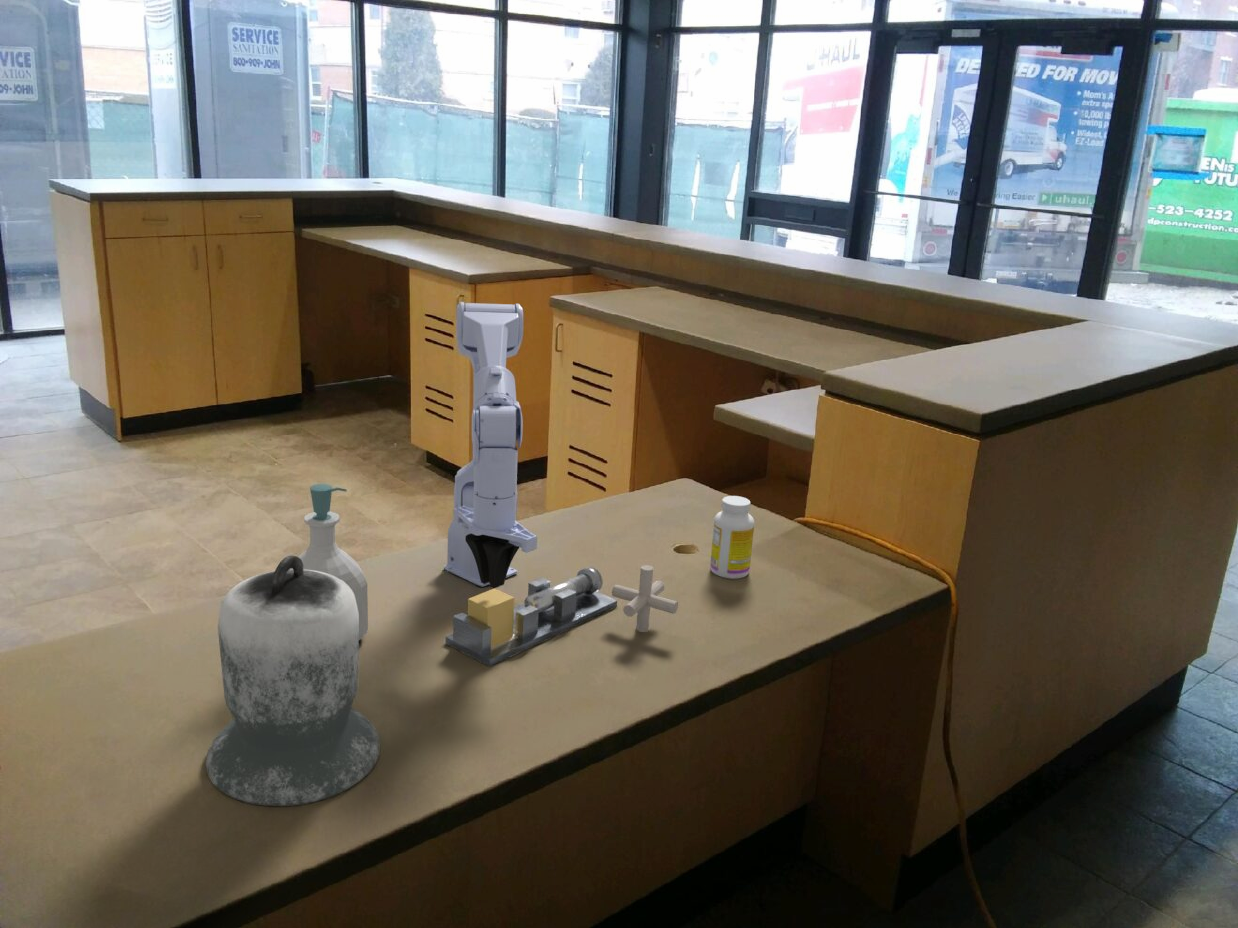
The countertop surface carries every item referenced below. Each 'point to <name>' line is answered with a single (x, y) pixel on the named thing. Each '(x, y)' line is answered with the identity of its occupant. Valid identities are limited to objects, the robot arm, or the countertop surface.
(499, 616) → the block
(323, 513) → the soap bottle
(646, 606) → the white crossed rods piece
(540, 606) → the shaft
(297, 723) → the bell
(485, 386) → the robot arm
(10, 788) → the countertop surface
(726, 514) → the supplement bottle
